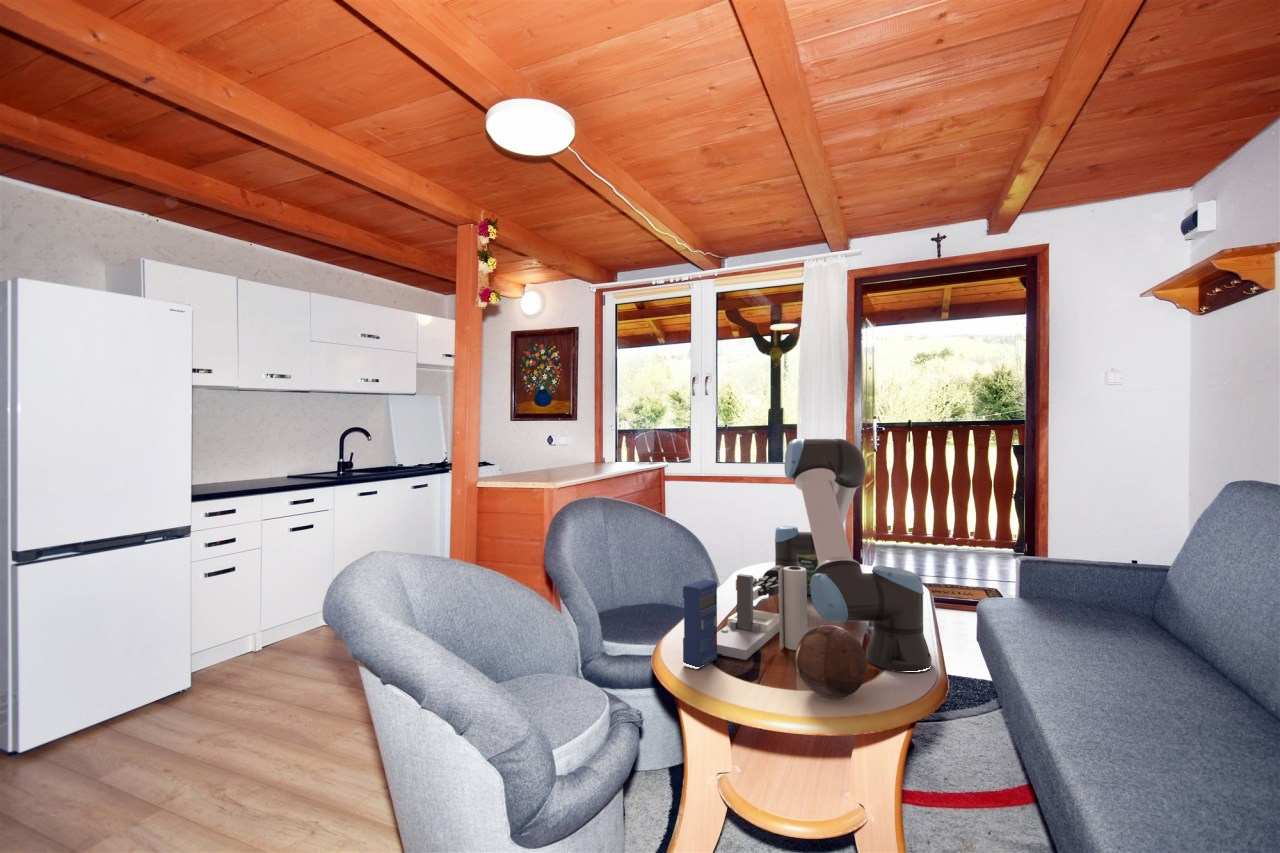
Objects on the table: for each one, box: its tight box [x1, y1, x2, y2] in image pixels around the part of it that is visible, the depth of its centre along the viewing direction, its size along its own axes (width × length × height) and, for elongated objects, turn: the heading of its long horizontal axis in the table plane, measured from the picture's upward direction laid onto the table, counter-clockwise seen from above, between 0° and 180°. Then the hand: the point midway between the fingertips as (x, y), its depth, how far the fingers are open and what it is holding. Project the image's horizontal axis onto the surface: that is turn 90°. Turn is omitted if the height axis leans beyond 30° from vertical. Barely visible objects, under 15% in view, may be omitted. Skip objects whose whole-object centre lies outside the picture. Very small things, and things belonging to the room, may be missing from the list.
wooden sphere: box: [795, 624, 868, 700], centre depth 131 cm, size 15×15×15 cm
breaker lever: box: [735, 573, 754, 630], centre depth 168 cm, size 2×5×15 cm, turn 59°
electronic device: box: [682, 578, 718, 667], centre depth 150 cm, size 10×5×20 cm, turn 143°
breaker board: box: [717, 609, 780, 661], centre depth 167 cm, size 28×12×4 cm, turn 149°
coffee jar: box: [798, 555, 819, 595], centre depth 217 cm, size 10×8×19 cm
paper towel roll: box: [778, 566, 809, 651], centre depth 161 cm, size 7×6×21 cm
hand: (751, 595), depth 173 cm, fingers closed
